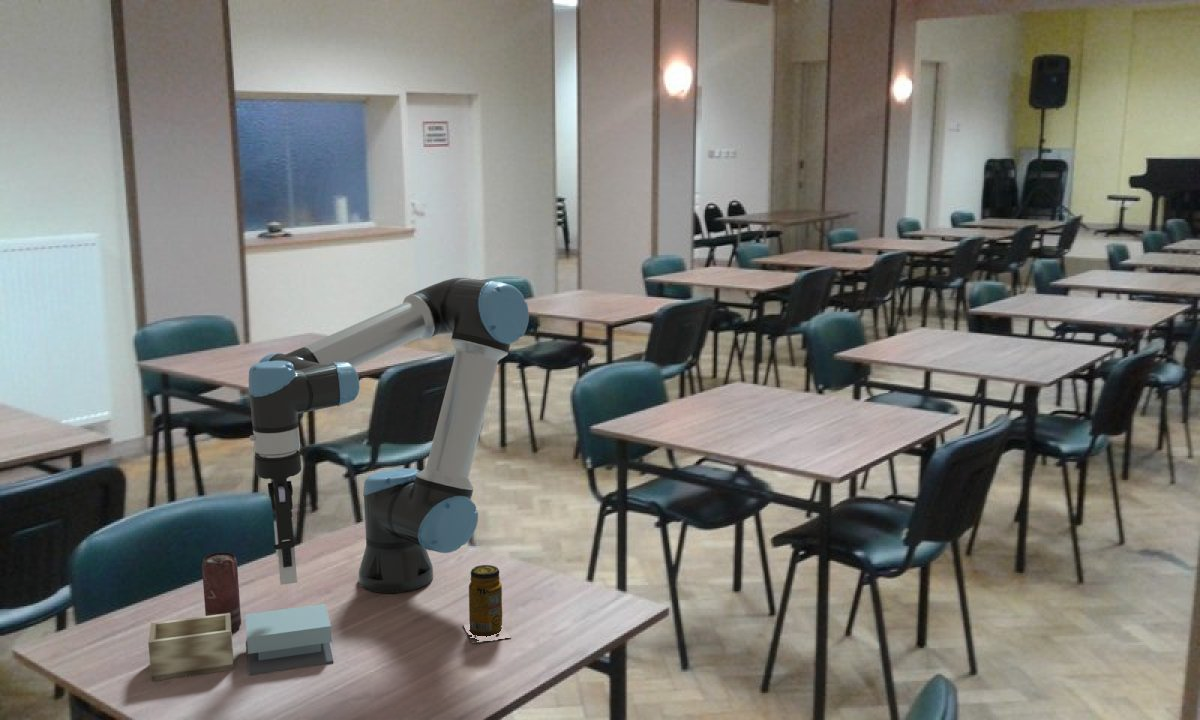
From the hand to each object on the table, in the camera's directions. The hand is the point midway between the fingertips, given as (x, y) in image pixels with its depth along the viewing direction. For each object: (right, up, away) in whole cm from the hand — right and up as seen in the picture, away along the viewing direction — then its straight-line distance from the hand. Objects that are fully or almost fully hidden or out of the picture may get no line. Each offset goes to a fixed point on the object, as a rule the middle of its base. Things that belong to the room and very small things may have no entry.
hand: (286, 568), depth 190 cm
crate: (-15, -16, -2) cm, 23 cm away
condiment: (+34, -14, +10) cm, 38 cm away
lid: (0, -12, +2) cm, 13 cm away
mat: (0, -15, +3) cm, 16 cm away
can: (-15, -14, +12) cm, 24 cm away
